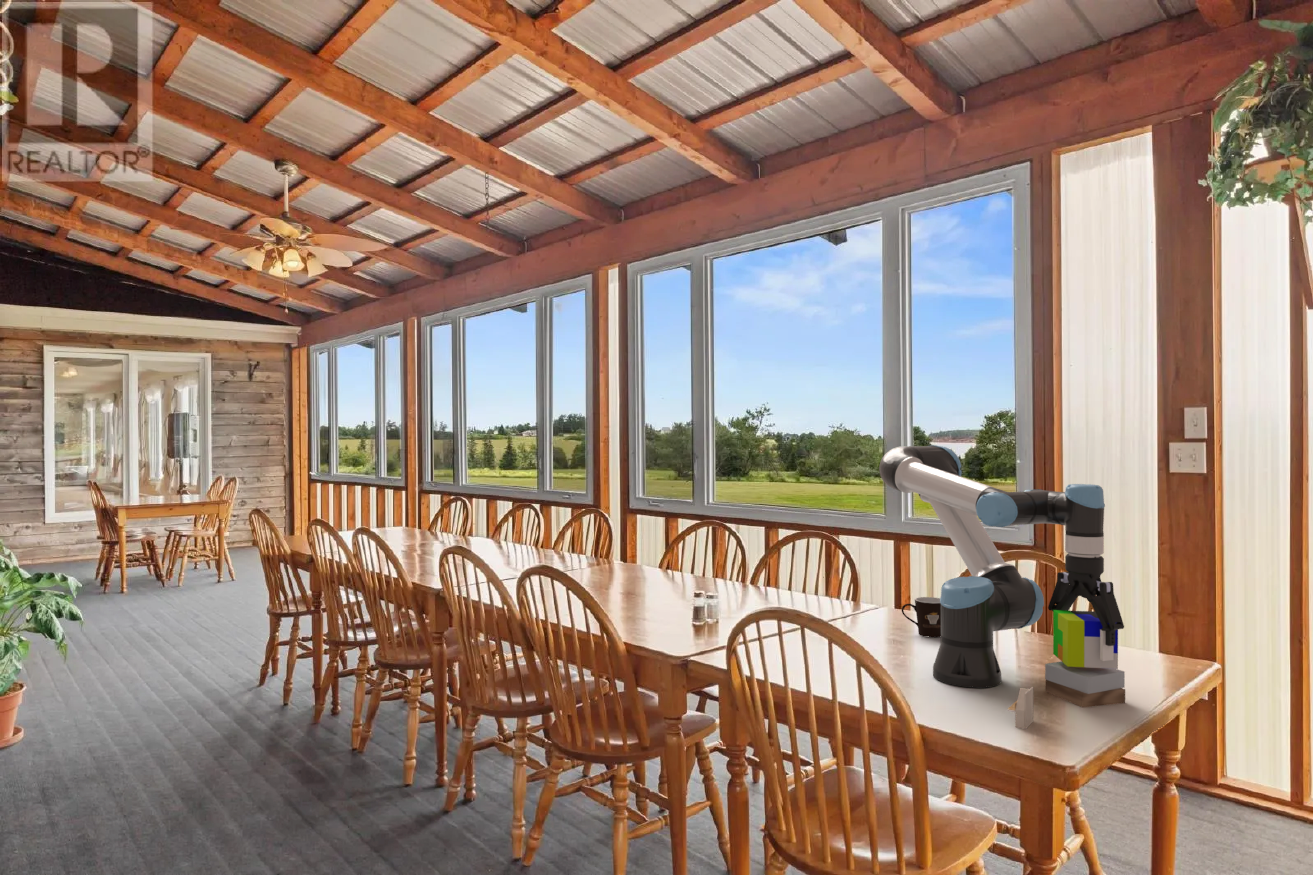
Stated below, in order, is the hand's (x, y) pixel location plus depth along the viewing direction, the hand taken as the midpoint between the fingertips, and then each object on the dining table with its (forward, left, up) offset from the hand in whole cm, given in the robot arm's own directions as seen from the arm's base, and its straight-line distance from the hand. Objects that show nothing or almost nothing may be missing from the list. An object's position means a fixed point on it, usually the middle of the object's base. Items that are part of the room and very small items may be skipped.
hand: (1084, 652), depth 179 cm
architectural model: (-24, -11, -11) cm, 28 cm away
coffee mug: (-3, +58, -10) cm, 59 cm away
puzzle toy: (0, 0, -2) cm, 2 cm away
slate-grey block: (0, 0, -7) cm, 7 cm away
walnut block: (0, 0, -10) cm, 10 cm away
